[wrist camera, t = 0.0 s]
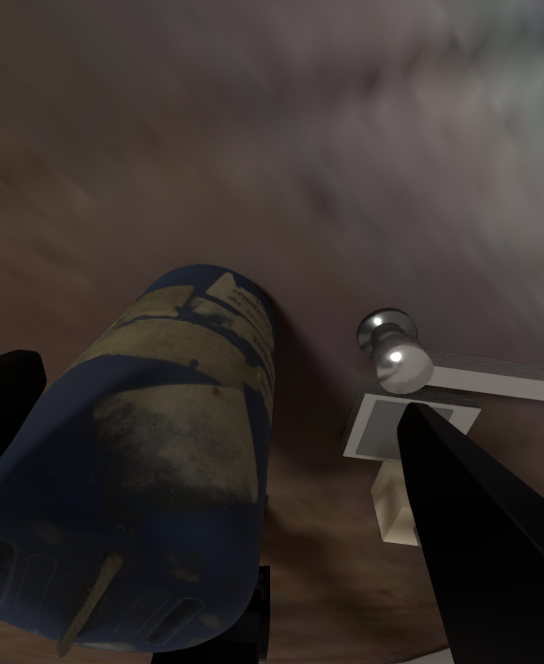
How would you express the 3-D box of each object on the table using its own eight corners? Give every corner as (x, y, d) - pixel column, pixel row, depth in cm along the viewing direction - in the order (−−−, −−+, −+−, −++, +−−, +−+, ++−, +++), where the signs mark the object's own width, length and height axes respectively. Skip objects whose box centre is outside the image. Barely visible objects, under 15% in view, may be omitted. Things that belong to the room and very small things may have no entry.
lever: (560, 396, 23) (588, 421, 21) (364, 369, 22) (372, 392, 20) (589, 358, 21) (622, 381, 19) (378, 328, 21) (388, 348, 19)
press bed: (438, 454, 30) (445, 470, 28) (340, 442, 29) (343, 456, 28) (471, 395, 26) (482, 409, 25) (361, 381, 26) (365, 394, 25)
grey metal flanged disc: (402, 359, 25) (413, 379, 23) (350, 352, 25) (356, 372, 22) (421, 312, 23) (436, 329, 21) (365, 304, 23) (373, 321, 20)
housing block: (419, 494, 33) (445, 563, 27) (370, 488, 33) (386, 556, 27) (438, 461, 30) (471, 530, 25) (385, 454, 30) (407, 522, 25)
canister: (305, 320, 24) (340, 666, 8) (222, 393, 27) (134, 728, 12) (198, 226, 21) (-86, 481, 5) (122, 321, 24) (-180, 642, 9)
